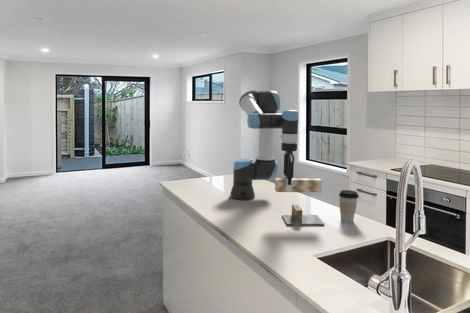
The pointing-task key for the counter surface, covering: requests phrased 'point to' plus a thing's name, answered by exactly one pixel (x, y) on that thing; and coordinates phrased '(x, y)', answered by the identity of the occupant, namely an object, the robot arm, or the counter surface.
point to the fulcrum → (301, 218)
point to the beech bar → (299, 185)
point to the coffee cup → (348, 205)
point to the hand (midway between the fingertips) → (287, 189)
